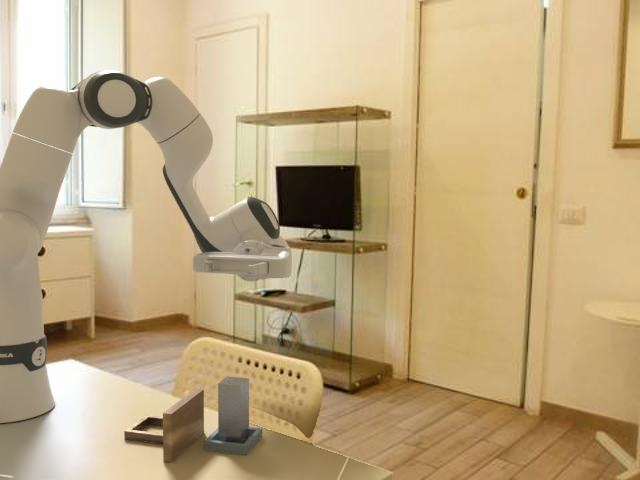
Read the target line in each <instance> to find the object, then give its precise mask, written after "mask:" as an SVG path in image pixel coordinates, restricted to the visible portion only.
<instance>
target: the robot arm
mask: <svg viewBox="0 0 640 480" xmlns="http://www.w3.org/2000/svg"><path fill="white" fill-rule="evenodd" d="M137 123H138V124H139V125H140V126H142V127H143V128H144V130H146V131H148V133H149V134H150V136H151V137H152V138H153V140H154V141H155V142H156V144H157V145H158V146H159V148H160V150H161V152H162V155H163V158H164V165H163V167H162V174H163V178H164V180H165V183H166V185H167V187H168V189H169V191H170V194H171V195H172V196H173V199H174V200H175V202H176V204H177V206H178V207H179V209H180V211H181V214H182V215H183V216H184V218H185V220H186V222H187V224H188V226H189V227H190V229H191V231H192V233H193V236H194V238H195V241H196V244H197V246H198V248H199V249H200V252H201V253H195V254H194V255H193V257H192V269H193V271H194V272H195V273H203V274H204V273H206V274H225V275H226V274H227V275H237V277H238V278H240V279H242V280H243V281H244V282H245V281H246V282H252V283H253V282H258V281H260V280H261V281H263V280H264V281H265V280H268V279H284V278H285V279H286V278H287V279H288V278H290V277H291V276H292V269H293V255H292V248H291V247H290V246H289V243H288V242H287V241H286V239H285V238H284V237H282V235H280V234H281V233H280V232H281V226H280V223H279V220H278V218H277V217H278V216H276V213H275V212H274V210H273V208H272V207H271V206H270V205H269V204H268V203H267V202H265V201H263V200H261V199H260V198H257V197H254V196H248V197H246V198H244V199H243V200H241V201H238V202H237V203H235V204H233V205H232V206H230V207H229V208H227V209H225V210H223V211H221V212H220V213H219V214H217V215H214V216H213V215H209V214H208V212H207V211H206V209H205V207H204V205H203V203H202V201H201V200H200V197H199V195H198V194H197V192H196V189H195V188H194V185H193V182H194V178H195V176H196V175H197V173H198V171H199V170H200V169H201V168H202V166H203V165H204V163H205V162H206V161H207V159H208V157H209V155H210V153H211V151H212V148H213V141H214V136H213V132H212V130H211V127H210V125H209V124H208V123H207V121H206V119H205V118H204V117H203V115H202V114H201V112H200V111H199V110H198V108H197V107H196V105H195V104H194V103H193V102H192V100H191V99H190V98H189V97H188V96H187V95H186V94H185V93H184V91H182V90H181V89H180V87H179V86H178V85H177V84H175V83H174V82H173V81H172V80H171V79H170V78H167V77H164V76H156V77H151V78H149V79H147V80H145V81H144V82H143V81H141V80H139V79H137V78H135V77H133V76H131V75H129V74H127V73H125V72H122V71H118V70H114V69H113V70H111V69H109V70H103V71H101V70H100V71H97V72H93V73H92V74H90V75H88V76H86V77H85V78H84V79H83V80H81V81H80V82H78V84H76V85H75V86H73V87H72V88H71V89H69V90H68V89H65V88H63V87H61V86H60V87H59V86H56V85H43V86H39V87H38V88H36V89H35V90H34V91H32V93H31V95H30V96H29V97H28V99H27V101H26V103H25V104H24V106H23V108H22V110H21V112H20V114H19V115H18V118H17V120H16V122H15V125H14V127H13V130H12V133H11V136H10V139H9V141H8V144H7V146H6V151H5V153H4V156H3V158H2V161H1V164H0V424H4V423H13V422H14V423H15V422H19V421H24V420H28V419H33V418H34V417H38V416H41V415H43V414H45V413H48V412H49V411H50V410H52V409H53V408H54V407H55V405H56V401H55V398H54V395H53V392H52V389H51V383H50V379H49V374H48V368H47V355H48V345H47V344H48V342H47V341H48V340H47V335H46V334H45V332H44V331H45V328H44V327H45V326H44V299H43V298H44V297H43V291H42V285H41V278H40V277H41V276H40V269H39V257H38V256H39V253H40V252H41V250H42V248H43V245H44V243H45V240H46V237H47V233H48V230H49V227H50V223H51V221H52V217H53V215H54V210H55V208H56V205H57V202H58V198H59V194H60V191H61V188H62V185H63V182H64V180H65V177H66V174H67V172H68V171H67V170H68V168H69V166H70V163H71V160H72V158H73V154H74V151H75V149H76V146H77V142H78V139H79V137H80V136H81V134H82V132H83V131H84V130H85V129H87V128H88V127H94V128H100V129H106V130H108V129H109V130H113V129H118V128H119V129H120V128H125V127H129V126H131V125H133V124H137Z"/></svg>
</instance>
